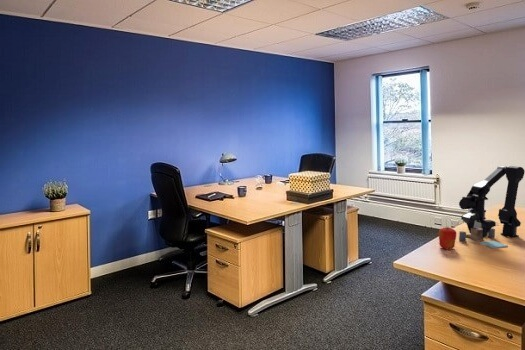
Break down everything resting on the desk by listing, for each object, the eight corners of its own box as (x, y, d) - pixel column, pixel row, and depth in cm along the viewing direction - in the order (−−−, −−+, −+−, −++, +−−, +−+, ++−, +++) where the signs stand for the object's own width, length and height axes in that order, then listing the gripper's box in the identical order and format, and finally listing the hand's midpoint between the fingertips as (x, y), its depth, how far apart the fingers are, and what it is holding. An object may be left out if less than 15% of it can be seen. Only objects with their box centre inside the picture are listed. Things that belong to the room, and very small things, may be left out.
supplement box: (484, 231, 223) (485, 210, 222) (471, 231, 225) (472, 210, 223) (480, 228, 230) (481, 208, 229) (467, 227, 232) (467, 207, 230)
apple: (438, 245, 201) (438, 223, 200) (455, 246, 198) (456, 224, 196) (437, 249, 193) (438, 227, 192) (456, 251, 190) (457, 229, 188)
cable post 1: (462, 239, 209) (463, 231, 208) (467, 241, 206) (467, 232, 205) (457, 240, 208) (458, 231, 207) (462, 242, 205) (462, 233, 204)
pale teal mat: (493, 241, 204) (493, 240, 204) (507, 246, 195) (507, 245, 195) (479, 243, 202) (479, 242, 202) (493, 248, 193) (493, 247, 193)
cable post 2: (491, 236, 213) (491, 228, 212) (495, 238, 210) (496, 229, 209) (486, 237, 212) (486, 228, 212) (491, 238, 209) (491, 229, 209)
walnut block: (477, 237, 212) (477, 227, 211) (483, 240, 207) (484, 229, 207) (470, 238, 211) (470, 228, 210) (476, 240, 206) (477, 230, 206)
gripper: (453, 205, 214) (452, 232, 216) (479, 212, 196) (478, 241, 198) (470, 204, 216) (469, 230, 218) (497, 211, 198) (495, 239, 200)
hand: (477, 235), depth 209 cm, fingers open, 9 cm apart
